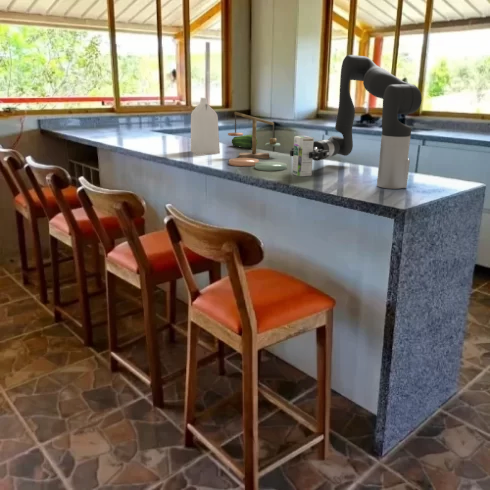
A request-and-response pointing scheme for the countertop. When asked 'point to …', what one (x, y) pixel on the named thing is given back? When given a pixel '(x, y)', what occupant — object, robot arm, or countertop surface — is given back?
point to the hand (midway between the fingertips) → (300, 154)
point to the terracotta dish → (243, 161)
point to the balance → (254, 154)
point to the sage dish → (271, 166)
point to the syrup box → (302, 156)
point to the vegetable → (243, 141)
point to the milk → (204, 129)
